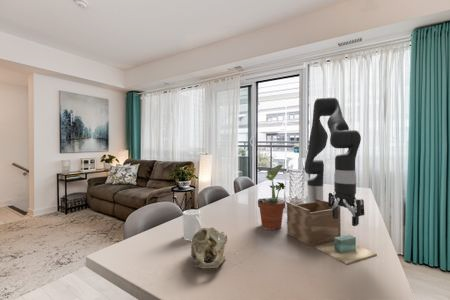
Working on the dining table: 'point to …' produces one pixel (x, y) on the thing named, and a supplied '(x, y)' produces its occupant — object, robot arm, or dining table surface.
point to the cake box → (312, 222)
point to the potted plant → (272, 204)
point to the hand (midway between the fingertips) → (345, 222)
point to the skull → (208, 247)
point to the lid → (346, 250)
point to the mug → (191, 223)
